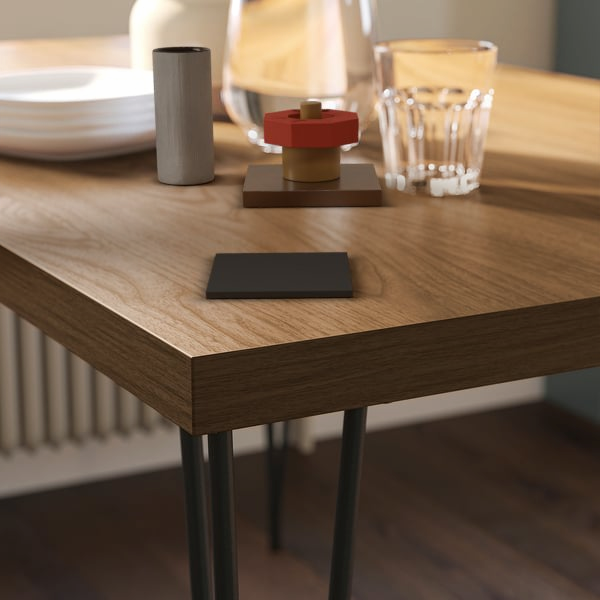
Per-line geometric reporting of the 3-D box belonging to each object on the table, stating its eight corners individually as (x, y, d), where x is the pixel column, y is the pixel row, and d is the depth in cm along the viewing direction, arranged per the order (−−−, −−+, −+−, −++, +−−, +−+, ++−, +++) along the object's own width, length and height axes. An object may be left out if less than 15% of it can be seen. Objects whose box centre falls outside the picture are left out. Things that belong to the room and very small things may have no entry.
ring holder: (242, 207, 85) (240, 112, 83) (248, 179, 94) (246, 93, 92) (381, 205, 85) (382, 111, 83) (373, 178, 94) (374, 92, 92)
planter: (180, 188, 91) (175, 53, 88) (146, 179, 95) (140, 49, 92) (226, 179, 94) (222, 48, 91) (191, 171, 98) (187, 45, 94)
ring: (263, 148, 85) (262, 123, 85) (265, 132, 92) (265, 109, 91) (360, 147, 85) (360, 122, 85) (355, 131, 92) (355, 108, 91)
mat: (205, 298, 64) (205, 291, 64) (215, 259, 72) (215, 253, 71) (353, 297, 64) (353, 290, 64) (347, 258, 72) (347, 251, 71)
